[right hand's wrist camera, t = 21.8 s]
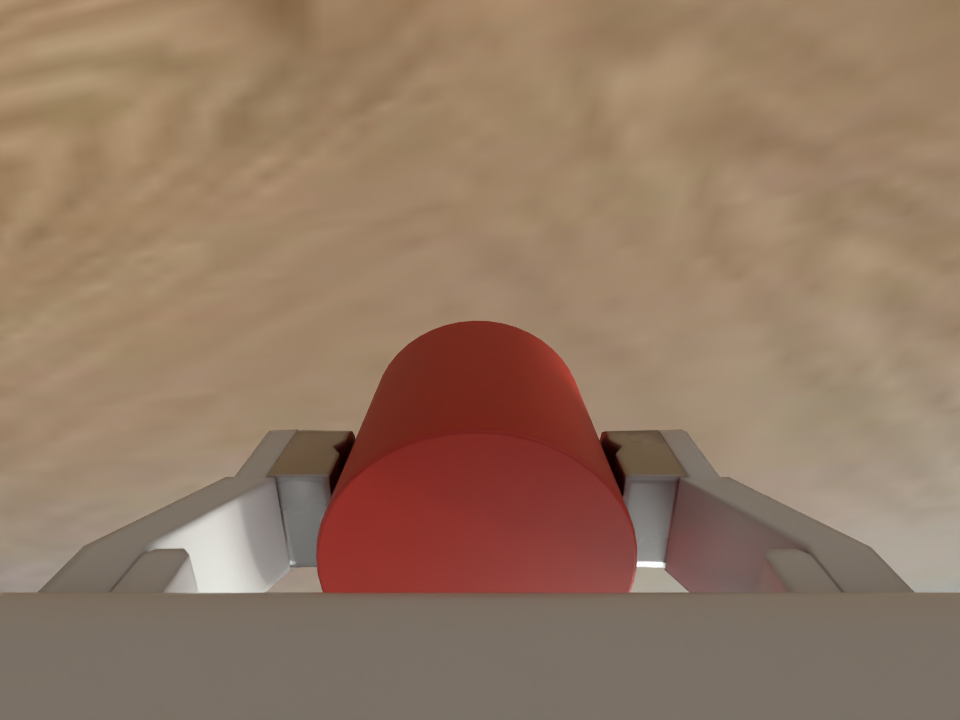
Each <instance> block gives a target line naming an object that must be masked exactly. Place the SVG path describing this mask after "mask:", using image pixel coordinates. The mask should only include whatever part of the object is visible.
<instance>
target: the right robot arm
mask: <svg viewBox="0 0 960 720" xmlns="http://www.w3.org/2000/svg"><path fill="white" fill-rule="evenodd" d="M354 442H355V436H354V434H353V432H352V431H315V430H300V431H299V430H273V431H269V432H268V433H267V434H266V436H265V437H264V438H263V440H262V441H261V442H260V444H259V445H258V446H257V448H256V449H255V450H254V452H253V453H252V454H251V456H250V457H249V458H248V460H247V461H246V462H245V464H244V465H243V466H242V468H241V469H240V470H239V472H238V473H237V474H236V476H235V477H225V478H223V479H221V480H219V481H217V482H215V483H213V484H211V485H209V486H207V487H205V488H203V489H200V490H198V491H196V492H194V493H192V494H190V495H188V496H186V497H184V498H182V499H180V500H178V501H176V502H174V503H172V504H170V505H168V506H166V507H163V508H161V509H159V510H157V511H155V512H153V513H151V514H149V515H147V516H145V517H143V518H141V519H139V520H137V521H135V522H133V523H131V524H129V525H127V526H124V527H122V528H120V529H118V530H116V531H114V532H112V533H110V534H108V535H106V536H104V537H102V538H100V539H98V540H96V541H94V542H92V543H90V544H88V545H85V546H83V548H82V549H81V550H80V551H79V552H78V553H77V554H76V555H75V556H74V557H73V558H72V559H71V560H70V561H69V562H68V563H67V564H66V565H65V566H64V567H63V568H62V569H61V570H60V571H59V572H58V573H57V574H56V575H55V576H54V577H53V578H52V579H51V580H50V581H49V582H48V583H47V584H46V585H45V586H44V587H43V588H42V589H41V590H40V591H39V592H38V593H0V720H960V593H915V592H914V591H913V590H912V589H911V588H910V587H909V586H908V585H907V584H906V583H905V582H904V581H903V580H902V579H901V578H900V577H899V576H898V575H897V574H896V573H895V572H894V571H893V570H892V569H891V568H890V567H889V565H888V564H887V563H886V562H885V561H884V560H883V559H882V558H881V557H880V556H879V555H878V554H877V553H876V552H875V551H874V550H873V549H872V548H871V547H869V546H867V545H865V544H863V543H861V542H859V541H857V540H855V539H853V538H851V537H849V536H847V535H845V534H843V533H841V532H839V531H837V530H835V529H833V528H831V527H829V526H827V525H825V524H823V523H821V522H819V521H817V520H815V519H813V518H810V517H808V516H806V515H804V514H802V513H800V512H798V511H796V510H794V509H792V508H790V507H788V506H786V505H784V504H782V503H780V502H778V501H776V500H774V499H772V498H770V497H768V496H766V495H764V494H762V493H760V492H758V491H756V490H754V489H752V488H750V487H748V486H746V485H744V484H742V483H740V482H738V481H735V480H733V479H731V478H729V477H720V476H719V475H718V473H717V472H716V471H715V469H714V468H713V467H712V465H711V464H710V463H709V461H708V460H707V459H706V457H705V456H704V455H703V453H702V452H701V451H700V449H699V448H698V446H697V445H696V444H695V442H694V441H693V440H692V438H691V437H690V436H689V434H688V433H687V432H686V431H684V430H659V431H658V430H645V431H606V432H602V434H601V438H600V443H601V446H602V448H603V451H604V453H605V456H606V458H607V460H608V463H609V465H610V468H611V470H612V473H613V475H614V478H615V480H616V483H617V485H618V487H619V490H620V492H621V495H622V497H623V500H624V502H625V505H626V507H627V509H628V512H629V515H630V518H631V521H632V524H633V527H634V529H635V535H636V542H637V566H636V567H665V569H664V570H665V571H667V572H668V573H669V574H670V575H671V576H672V577H673V578H674V579H675V580H677V581H678V582H679V583H680V584H681V585H682V586H683V587H684V588H685V589H686V590H688V591H689V592H690V593H265V592H266V591H267V590H268V589H270V588H271V587H272V586H273V585H274V584H275V583H276V582H277V581H279V580H280V579H281V578H282V577H283V576H284V575H285V574H286V573H288V572H289V571H290V567H317V562H316V545H317V536H318V532H319V528H320V523H321V520H322V518H323V516H324V513H325V511H326V508H327V506H328V504H329V501H330V499H331V497H332V494H333V492H334V489H335V487H336V485H337V482H338V480H339V478H340V475H341V473H342V471H343V468H344V466H345V464H346V461H347V459H348V456H349V454H350V452H351V449H352V447H353V445H354Z"/></svg>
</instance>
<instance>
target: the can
mask: <svg viewBox="0 0 960 720" xmlns="http://www.w3.org/2000/svg"><path fill="white" fill-rule="evenodd" d="M316 562H317V571H318V576H319V580H320V583H321V587H322V591H323V593H630V591H631V588H632V585H633V582H634V577H635V572H636V566H637V542H636V535H635V529H634V527H633V524H632V521H631V518H630V515H629V512H628V509H627V507H626V505H625V502H624V500H623V497H622V495H621V492H620V490H619V487H618V485H617V483H616V480H615V478H614V475H613V473H612V470H611V468H610V465H609V463H608V460H607V458H606V456H605V453H604V451H603V448H602V446H601V443H600V441H599V438H598V436H597V434H596V431H595V429H594V426H593V424H592V421H591V419H590V416H589V414H588V412H587V409H586V407H585V404H584V402H583V399H582V397H581V394H580V392H579V390H578V387H577V385H576V382H575V380H574V378H573V376H572V374H571V372H570V370H569V368H568V367H567V366H566V364H565V363H564V361H563V360H562V359H561V358H560V357H559V355H558V354H557V353H556V352H555V351H554V350H553V349H552V348H550V347H549V346H548V345H547V344H545V343H544V342H543V341H542V340H540V339H538V338H537V337H535V336H533V335H532V334H530V333H528V332H526V331H523V330H521V329H519V328H516V327H513V326H509V325H506V324H503V323H496V322H490V321H467V322H458V323H454V324H449V325H445V326H442V327H439V328H437V329H434V330H431V331H429V332H427V333H425V334H424V335H422V336H420V337H418V338H417V339H415V340H414V341H412V342H411V343H410V344H408V345H407V346H406V347H405V348H404V349H403V350H402V351H400V352H399V353H398V354H397V356H396V357H395V358H394V359H393V360H392V362H391V363H390V364H389V366H388V367H387V369H386V371H385V372H384V374H383V376H382V378H381V381H380V383H379V386H378V388H377V390H376V393H375V395H374V397H373V400H372V402H371V404H370V407H369V409H368V412H367V414H366V416H365V419H364V421H363V423H362V426H361V428H360V430H359V433H358V435H357V438H356V440H355V442H354V445H353V447H352V449H351V452H350V454H349V456H348V459H347V461H346V464H345V466H344V468H343V471H342V473H341V475H340V478H339V480H338V482H337V485H336V487H335V489H334V492H333V494H332V497H331V499H330V501H329V504H328V506H327V508H326V511H325V513H324V516H323V518H322V520H321V523H320V528H319V532H318V536H317V545H316Z"/></svg>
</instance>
